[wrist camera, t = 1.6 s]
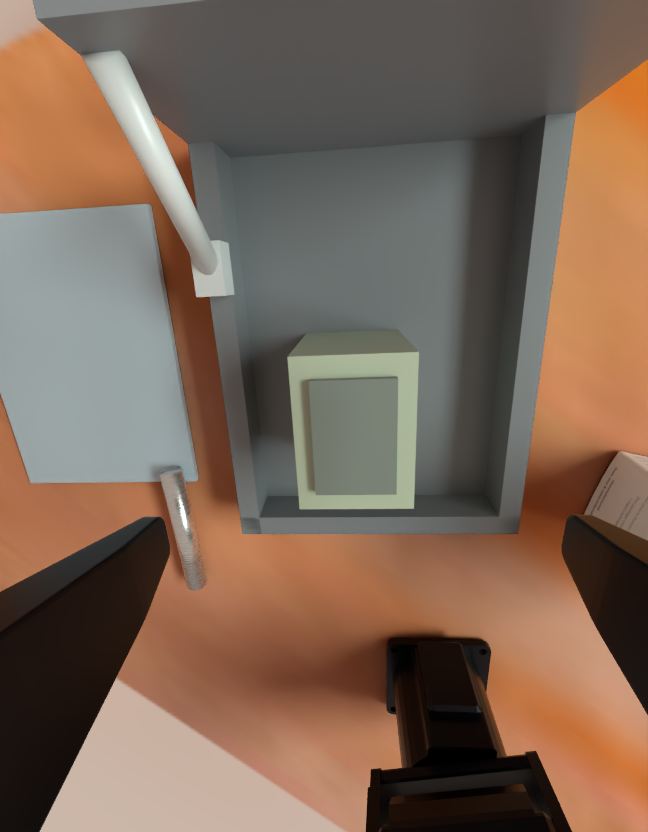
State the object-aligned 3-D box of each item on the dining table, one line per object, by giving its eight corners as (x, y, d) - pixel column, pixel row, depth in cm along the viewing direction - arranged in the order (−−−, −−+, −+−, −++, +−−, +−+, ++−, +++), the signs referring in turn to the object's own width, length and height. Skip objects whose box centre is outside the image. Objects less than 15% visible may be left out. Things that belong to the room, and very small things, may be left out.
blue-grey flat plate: (198, 477, 22) (196, 481, 22) (35, 479, 23) (30, 483, 23) (151, 205, 18) (146, 203, 17) (-51, 219, 19) (-59, 218, 18)
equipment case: (499, 506, 22) (613, 680, 12) (251, 507, 23) (182, 668, 13) (544, 119, 16) (832, -117, 6) (206, 146, 17) (23, -21, 7)
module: (396, 445, 20) (415, 513, 15) (313, 446, 21) (298, 513, 15) (398, 329, 18) (420, 353, 13) (306, 333, 19) (285, 358, 13)
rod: (209, 575, 25) (203, 590, 24) (191, 575, 25) (184, 590, 24) (185, 465, 22) (177, 477, 21) (165, 466, 22) (155, 477, 21)
